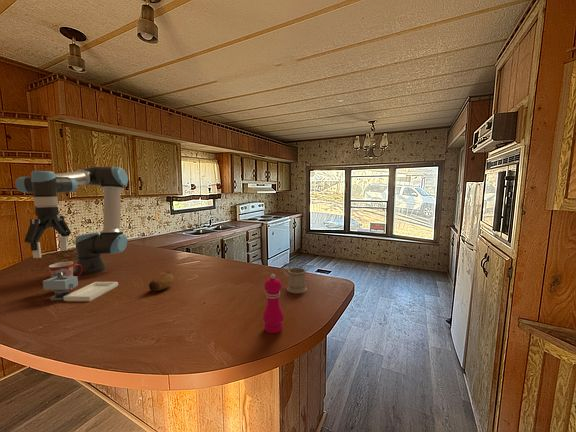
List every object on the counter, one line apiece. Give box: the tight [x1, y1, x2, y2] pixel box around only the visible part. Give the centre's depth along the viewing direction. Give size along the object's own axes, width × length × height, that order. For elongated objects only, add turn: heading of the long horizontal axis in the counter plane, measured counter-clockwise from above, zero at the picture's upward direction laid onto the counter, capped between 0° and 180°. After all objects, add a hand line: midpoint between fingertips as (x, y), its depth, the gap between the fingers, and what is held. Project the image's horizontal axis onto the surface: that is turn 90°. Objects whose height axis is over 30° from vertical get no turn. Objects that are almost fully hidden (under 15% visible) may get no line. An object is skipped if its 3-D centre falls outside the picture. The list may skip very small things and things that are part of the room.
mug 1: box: [48, 261, 82, 294], centre depth 124 cm, size 13×9×14 cm
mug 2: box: [282, 262, 308, 294], centre depth 125 cm, size 14×10×12 cm
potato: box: [148, 270, 175, 292], centre depth 125 cm, size 8×14×8 cm
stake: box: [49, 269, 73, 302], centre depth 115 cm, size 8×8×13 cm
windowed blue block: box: [42, 275, 79, 291], centre depth 115 cm, size 12×6×4 cm, turn 89°
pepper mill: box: [262, 273, 284, 334], centre depth 88 cm, size 7×7×20 cm
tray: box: [63, 281, 119, 302], centre depth 120 cm, size 18×12×2 cm, turn 179°
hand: (51, 253), depth 112 cm, fingers open, 13 cm apart
